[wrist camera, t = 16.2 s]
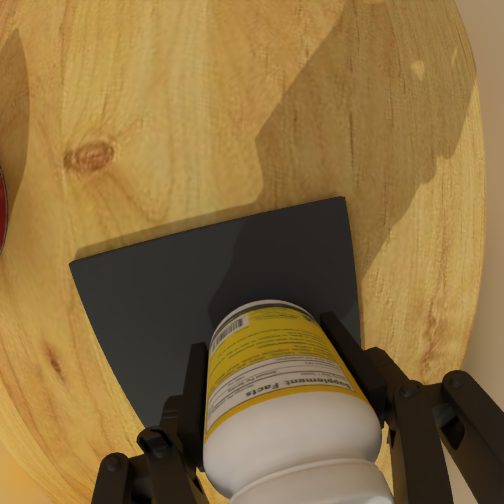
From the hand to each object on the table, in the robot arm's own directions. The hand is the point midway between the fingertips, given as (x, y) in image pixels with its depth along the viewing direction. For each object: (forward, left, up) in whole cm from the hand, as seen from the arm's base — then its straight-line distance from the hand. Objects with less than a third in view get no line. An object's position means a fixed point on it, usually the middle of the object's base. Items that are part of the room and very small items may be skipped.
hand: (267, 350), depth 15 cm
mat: (+2, 0, -2) cm, 3 cm away
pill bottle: (0, 0, 0) cm, 0 cm away
